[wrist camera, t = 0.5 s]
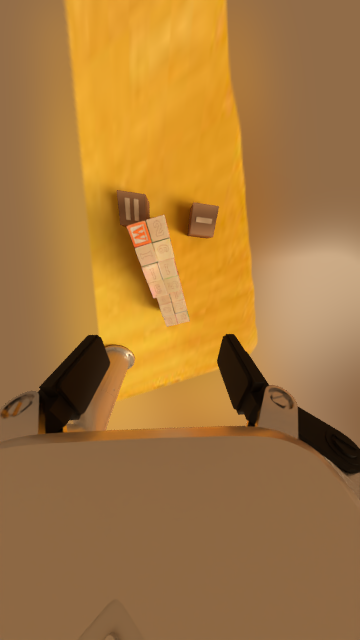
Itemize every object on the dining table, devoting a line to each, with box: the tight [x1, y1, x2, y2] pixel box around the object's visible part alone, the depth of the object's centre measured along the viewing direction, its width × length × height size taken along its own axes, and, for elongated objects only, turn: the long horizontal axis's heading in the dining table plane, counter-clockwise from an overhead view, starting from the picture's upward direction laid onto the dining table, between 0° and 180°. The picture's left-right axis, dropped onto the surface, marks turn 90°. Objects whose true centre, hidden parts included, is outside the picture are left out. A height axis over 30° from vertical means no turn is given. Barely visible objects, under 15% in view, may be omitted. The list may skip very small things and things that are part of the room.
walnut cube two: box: [117, 190, 150, 227], centre depth 26 cm, size 5×5×5 cm
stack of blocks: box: [127, 215, 190, 327], centre depth 30 cm, size 21×6×12 cm, turn 14°
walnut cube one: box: [187, 203, 219, 238], centre depth 28 cm, size 5×5×5 cm
